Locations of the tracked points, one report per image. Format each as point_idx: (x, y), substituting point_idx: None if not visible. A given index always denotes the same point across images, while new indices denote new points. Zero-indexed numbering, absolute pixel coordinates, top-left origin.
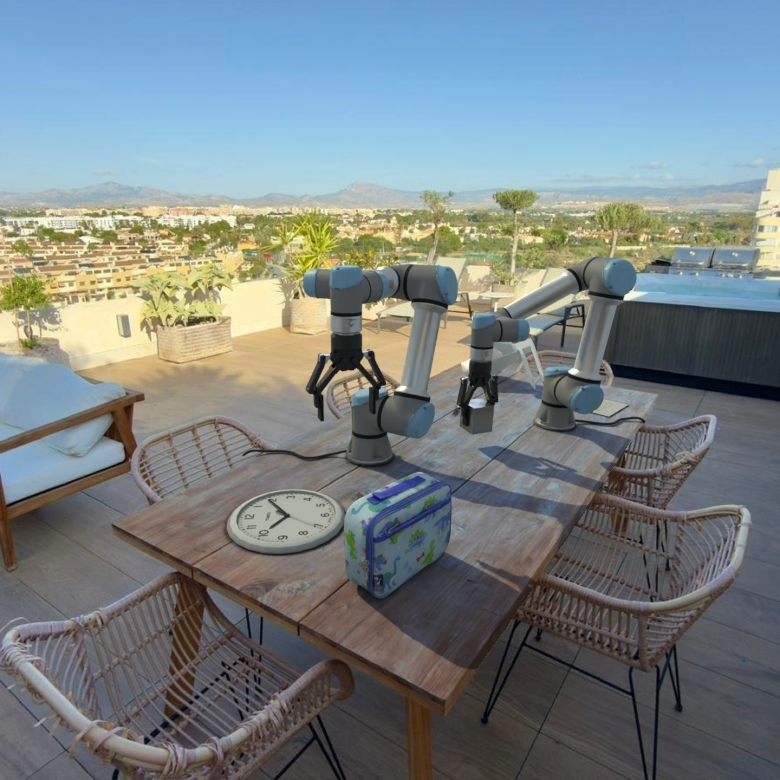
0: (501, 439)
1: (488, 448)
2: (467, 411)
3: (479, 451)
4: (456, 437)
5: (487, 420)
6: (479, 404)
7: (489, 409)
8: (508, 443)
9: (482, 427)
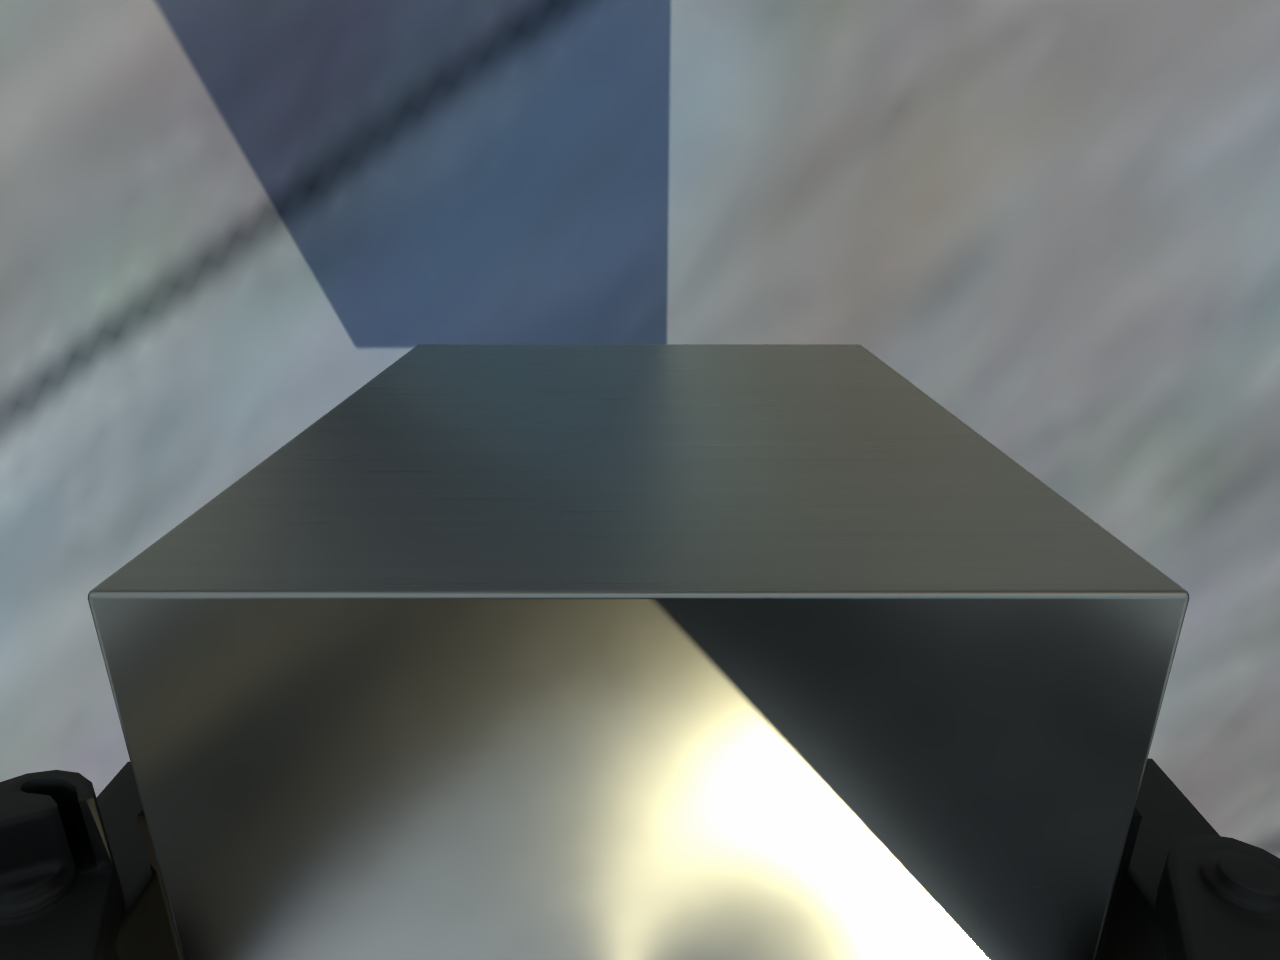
0: (196, 493)
1: (515, 299)
2: None
3: (688, 255)
4: None
5: (506, 407)
6: (643, 900)
7: (381, 530)
8: (158, 347)
9: (644, 368)
